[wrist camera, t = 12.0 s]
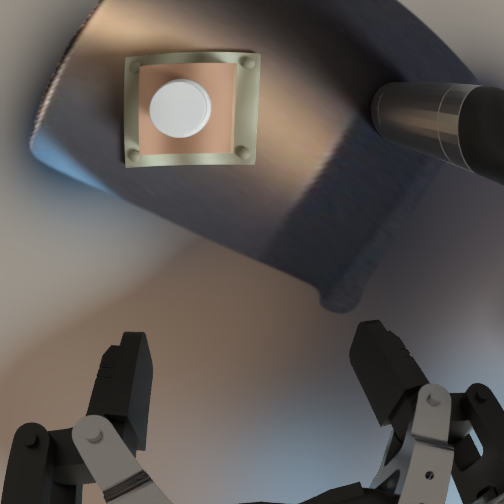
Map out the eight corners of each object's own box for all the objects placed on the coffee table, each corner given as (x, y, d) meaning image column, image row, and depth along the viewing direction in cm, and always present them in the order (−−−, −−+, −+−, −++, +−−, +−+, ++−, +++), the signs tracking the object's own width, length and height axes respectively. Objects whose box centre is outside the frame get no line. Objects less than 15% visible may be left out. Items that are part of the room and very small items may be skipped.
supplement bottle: (155, 94, 25) (134, 90, 17) (202, 76, 25) (199, 65, 17) (171, 139, 27) (157, 151, 20) (218, 122, 27) (221, 127, 20)
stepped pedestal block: (259, 55, 31) (272, 42, 24) (253, 162, 37) (264, 177, 30) (127, 58, 29) (107, 47, 22) (128, 165, 35) (108, 181, 28)
